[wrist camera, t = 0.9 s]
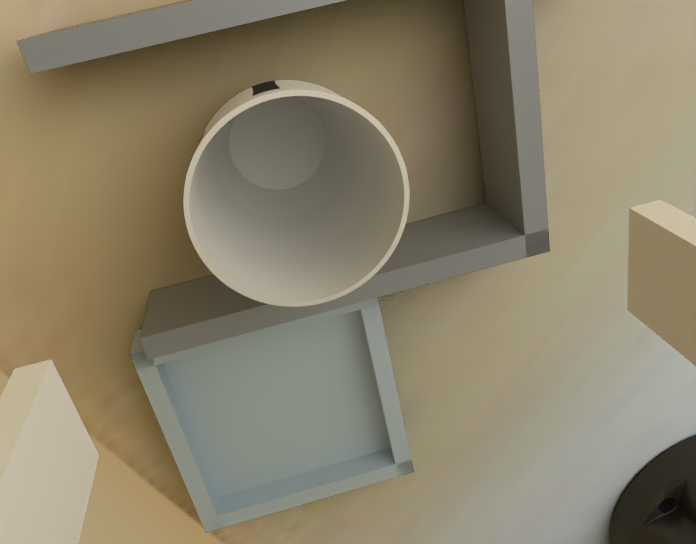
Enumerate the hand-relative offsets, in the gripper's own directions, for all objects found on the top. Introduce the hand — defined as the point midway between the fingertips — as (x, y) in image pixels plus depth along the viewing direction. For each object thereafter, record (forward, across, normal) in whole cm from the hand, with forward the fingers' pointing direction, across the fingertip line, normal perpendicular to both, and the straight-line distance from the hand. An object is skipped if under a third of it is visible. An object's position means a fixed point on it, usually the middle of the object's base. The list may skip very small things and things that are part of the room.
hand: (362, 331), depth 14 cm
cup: (+20, 0, 0) cm, 20 cm away
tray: (+19, +4, +15) cm, 25 cm away
